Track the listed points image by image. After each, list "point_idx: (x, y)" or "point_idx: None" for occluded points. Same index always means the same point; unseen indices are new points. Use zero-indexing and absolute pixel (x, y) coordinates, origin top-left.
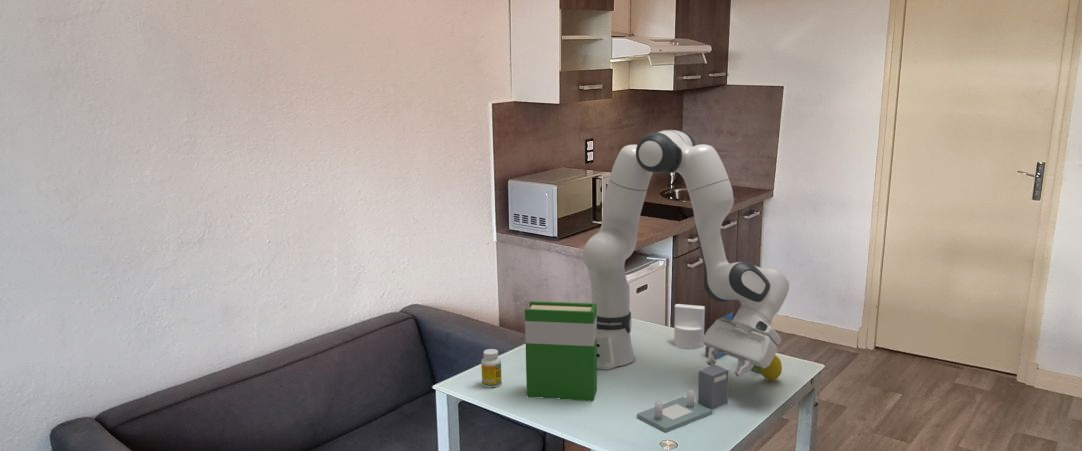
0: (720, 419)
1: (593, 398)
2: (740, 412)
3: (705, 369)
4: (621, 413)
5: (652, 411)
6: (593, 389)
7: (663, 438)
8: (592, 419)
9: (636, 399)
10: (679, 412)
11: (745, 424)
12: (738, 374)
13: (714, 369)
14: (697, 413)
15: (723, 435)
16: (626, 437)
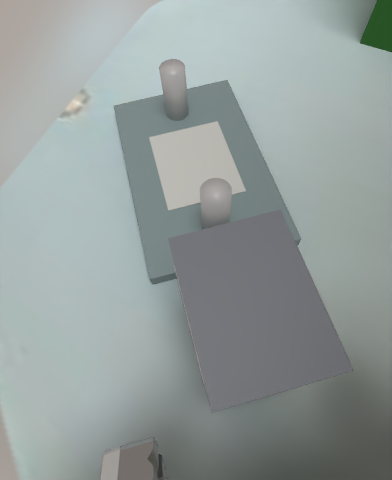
0: (102, 288)
1: (363, 34)
2: (109, 403)
3: (283, 254)
4: (264, 70)
5: (224, 114)
6: (375, 5)
7: (93, 101)
8: (255, 19)
9: (345, 126)
10: (181, 171)
11: (18, 352)
12: (112, 449)
13: (263, 311)
14: (151, 218)
15: (9, 235)
16: (141, 45)
